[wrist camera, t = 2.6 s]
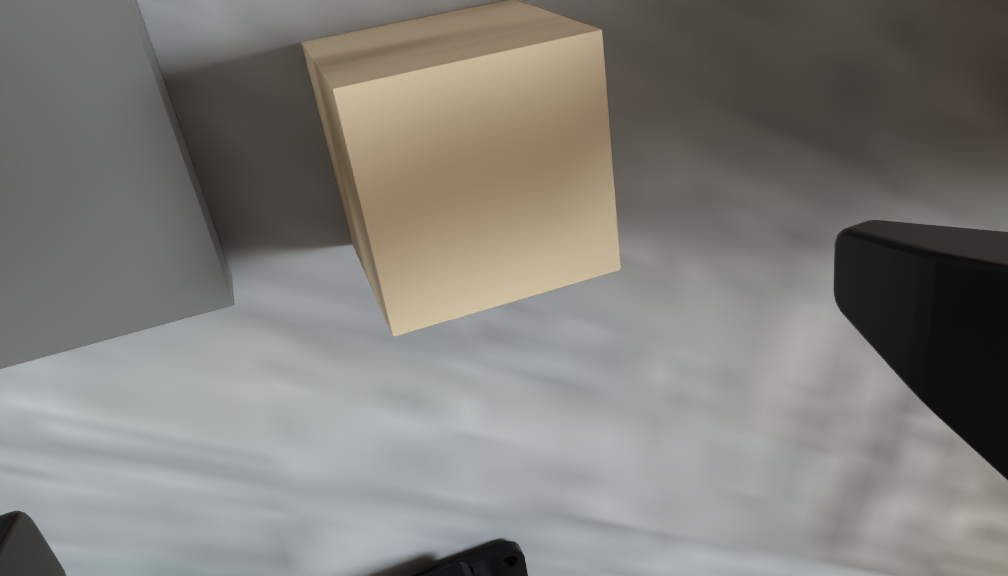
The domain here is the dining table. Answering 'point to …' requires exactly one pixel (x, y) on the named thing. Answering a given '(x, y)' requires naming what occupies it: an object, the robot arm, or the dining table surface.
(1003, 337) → the robot arm
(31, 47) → the gray board
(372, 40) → the beech block
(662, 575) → the dining table surface
